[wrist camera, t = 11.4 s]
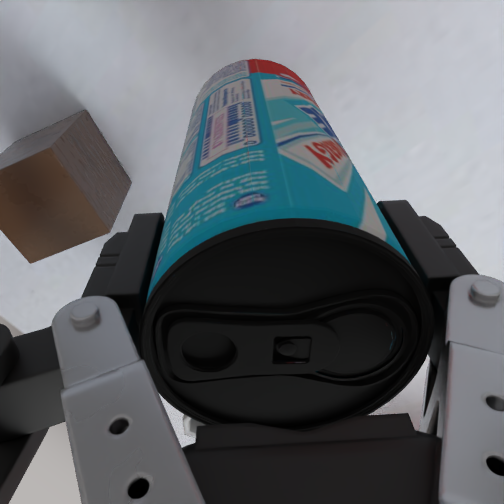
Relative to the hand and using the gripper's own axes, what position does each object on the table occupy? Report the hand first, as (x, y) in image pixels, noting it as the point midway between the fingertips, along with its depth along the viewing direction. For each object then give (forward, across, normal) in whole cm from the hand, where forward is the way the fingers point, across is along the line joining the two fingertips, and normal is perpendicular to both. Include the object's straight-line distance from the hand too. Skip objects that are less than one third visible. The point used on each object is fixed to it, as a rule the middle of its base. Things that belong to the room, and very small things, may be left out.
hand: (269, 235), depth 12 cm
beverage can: (+11, 0, 0) cm, 11 cm away
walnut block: (+15, +11, +3) cm, 19 cm away
